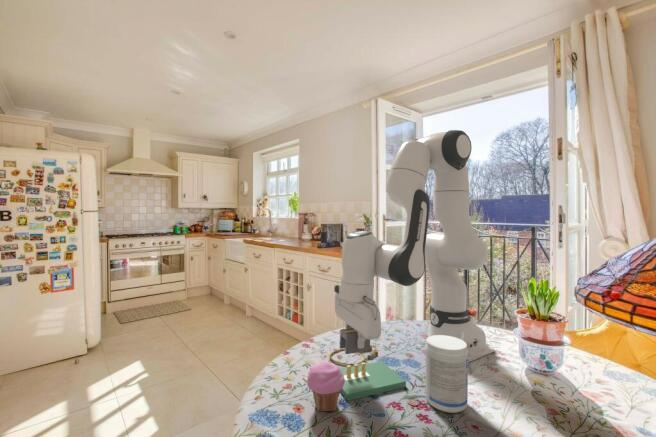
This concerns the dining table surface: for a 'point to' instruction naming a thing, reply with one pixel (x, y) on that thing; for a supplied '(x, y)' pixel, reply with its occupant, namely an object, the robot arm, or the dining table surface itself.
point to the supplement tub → (446, 373)
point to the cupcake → (326, 385)
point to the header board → (369, 380)
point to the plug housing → (352, 341)
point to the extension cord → (371, 355)
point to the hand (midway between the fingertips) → (355, 343)
